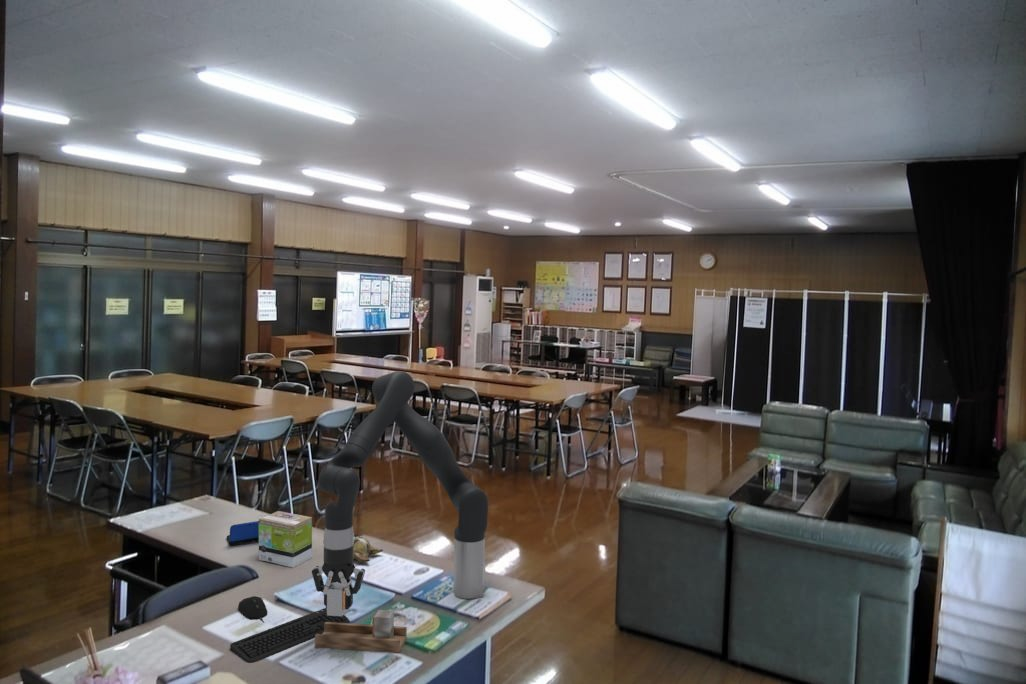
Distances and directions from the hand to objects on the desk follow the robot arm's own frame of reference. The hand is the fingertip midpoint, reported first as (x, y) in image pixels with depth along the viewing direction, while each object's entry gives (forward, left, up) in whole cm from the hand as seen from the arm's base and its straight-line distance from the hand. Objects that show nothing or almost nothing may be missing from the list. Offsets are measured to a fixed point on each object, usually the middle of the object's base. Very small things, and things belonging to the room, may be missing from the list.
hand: (338, 607), depth 175 cm
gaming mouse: (+29, -12, -10) cm, 33 cm away
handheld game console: (+57, -66, -10) cm, 88 cm away
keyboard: (+13, -2, -10) cm, 16 cm away
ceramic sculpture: (+13, -55, -9) cm, 57 cm away
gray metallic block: (0, 0, -1) cm, 1 cm away
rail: (-6, 0, -9) cm, 11 cm away
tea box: (+37, -51, -9) cm, 63 cm away
